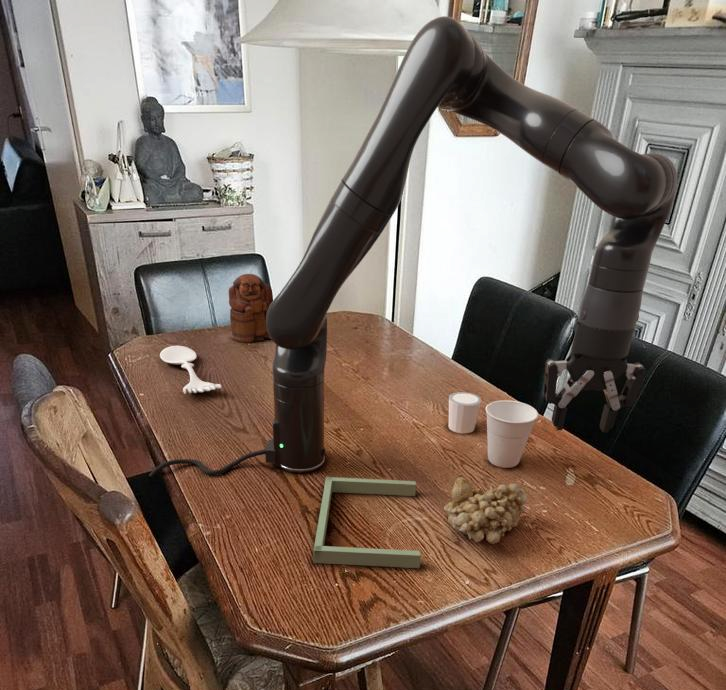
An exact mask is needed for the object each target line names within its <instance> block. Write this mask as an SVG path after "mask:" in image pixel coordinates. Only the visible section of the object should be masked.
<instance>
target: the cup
mask: <svg viewBox="0 0 726 690" xmlns="http://www.w3.org/2000/svg"><path fill="white" fill-rule="evenodd" d="M485 412H486V431H487V432H486V436H487V460H488V462H490V464H492V465H493V466H496V467H498V468H503V469H510V468H514V467H516V466H517V465H518V464H519V463H520V461H521V458H522V456H523V453H524V451H525V448H526V446H527V444H528V440H529V438H530V436H531V433H532V431H533V428H534V426H535V423H536V421H537V420H538V418H539V412H538V410H537V409H536V408H534V407H533V406H531V405H530V404H528V403H525V402H522V401H516V400H507V399H505V400H503V399H501V400H495V401H492V402H490V403H488V404H487V405H486V406H485Z"/></svg>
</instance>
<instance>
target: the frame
mask: <svg viewBox="0 0 726 690" xmlns="http://www.w3.org/2000/svg"><path fill="white" fill-rule="evenodd" d="M416 492H417V481H416V480H399V479H397V480H396V479H376V478H357V477H333V476H326V477H325V480H324V487H323V493H322V498H321V503H320V511H319V515H318V521H317V528H316V533H315V539H314V546H313V564H327V565H329V564H330V565H348V566H363V567H367V566H368V567H385V568H386V567H387V568H406V569H407V568H408V569H420V566H421V556H422V555H421V554H422V553H421V550H411V549H410V550H409V549H391V548H389V549H388V548H373V547H372V548H371V547H370V548H369V547H351V546H350V547H349V546H334V545H333V546H329V545H325V542H326V535H327V528H328V522H329V516H330V509H331V501H332V497H333V495H332V494H333V493H343V494H362V495H363V494H364V495H380V496H381V495H382V496H384V495H385V496H403V497H416Z"/></svg>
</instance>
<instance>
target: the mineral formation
mask: <svg viewBox="0 0 726 690" xmlns="http://www.w3.org/2000/svg"><path fill="white" fill-rule="evenodd" d="M453 485H454V486H453V487H452V490H451V498H452V501H450V502H448V503H446V505H445V506H444V507H443V510H444V511H445V512H446V513H447V521H448V523H449V525H451V526H452V528H453V529H455V530H458V531H460V532H461V533H462V534H463V535H468V538H469V540H473V541H474V542H475V543H479V542H481V541H482V540H483V539H484V538H485V540H486V542H488V543H489V544H491V545H494V544H497V543H499V542H500V540H501V538H504V536H505V533H506V532H510V531H511V530H512V529H513V528H515V527H516V528H517V526H518V525H519V522H520V519H521V517H520V516H519V515H522V514H524V513H525V512H526V506H524V505H525V504H526V503H527V500H528V499H527V495H526V493H525V490H524V489H523V488H520V487H519V485H518V484H516V483H514V482H513V483H510V484H508V485H506V484H499V485H498V487H497V488H493V489H487V490H486V491H483V489H482V488H476V489H473V487H472V486H471V485H470V481H469V480H467V479H465V478H464V477H462V476H459V477H458V478H457V479H456V480H455V482H453Z"/></svg>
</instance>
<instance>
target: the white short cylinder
mask: <svg viewBox="0 0 726 690" xmlns="http://www.w3.org/2000/svg"><path fill="white" fill-rule="evenodd" d="M481 404H482V398H481V397H480V396H479V395H478V394H475V393H473V392H467V391H465V392H463V391H459V392H453V393H451V394H450V395H448V424H447V425H448V429H449V430H450V431H452V432H454V433H456V434H465V435H466V434H471V433H473V432H474V430H476V429H475V428H476V424H477V420H478V416H479V412H480V408H481Z"/></svg>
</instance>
